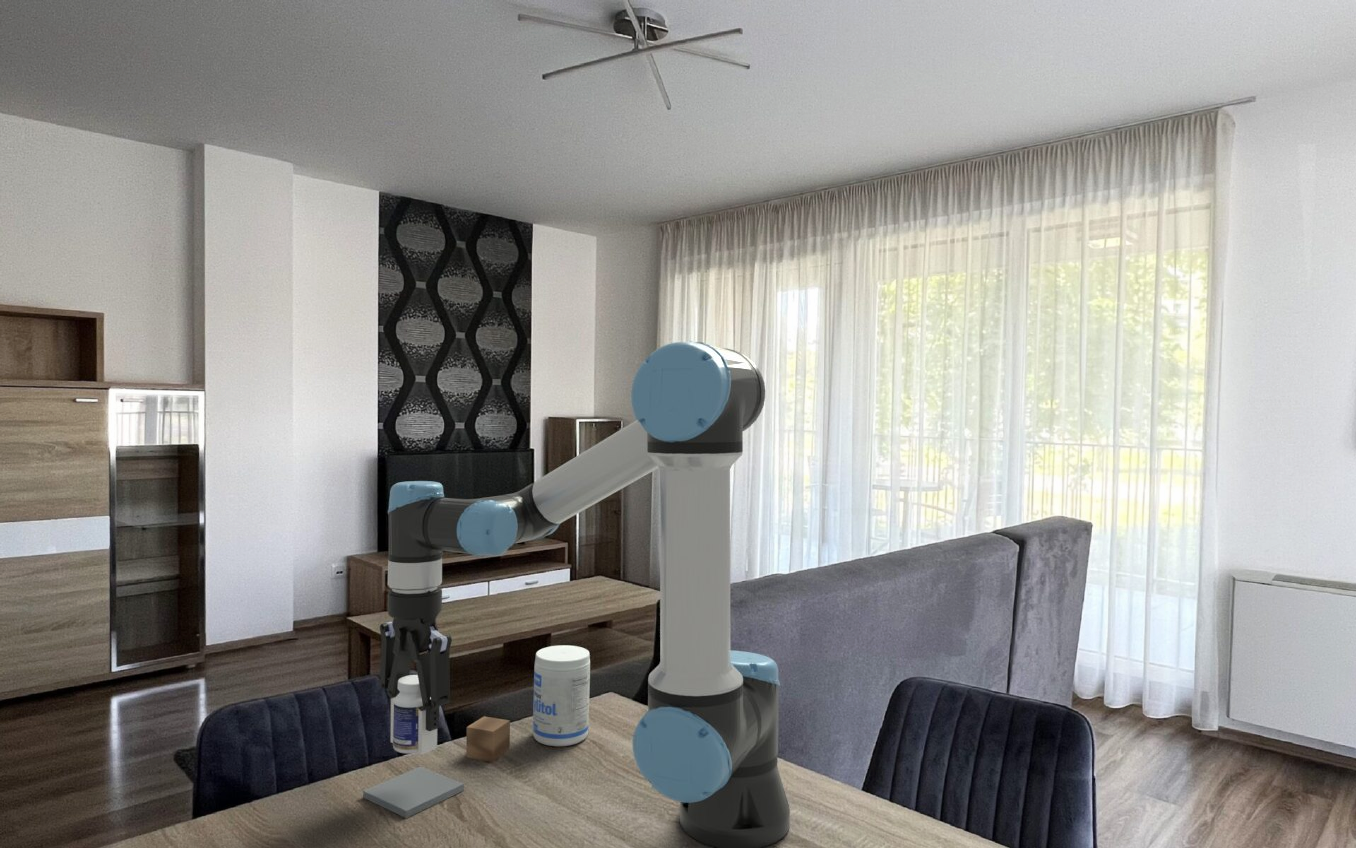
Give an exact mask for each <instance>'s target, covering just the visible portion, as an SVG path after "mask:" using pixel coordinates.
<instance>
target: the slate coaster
mask: <svg viewBox="0 0 1356 848" xmlns="http://www.w3.org/2000/svg"><path fill="white" fill-rule="evenodd" d="M464 785H465V784H464V783H463V782H460V781H458V780H455V779H453V778H451V777H448V776H445V775H443V774H441V773H438V772H436V771H434V770H432V769H429V768H427V767H424V766H421V765H420V766H417V767H416V768H413V769H411V770H409V771H407V772H404V773H402V774H399V775H397V776H395V777H392V778H390V779H388V780H386V781H383V782H381V783H378V784H376V785H373V786H371V787H369V788H367V789H364V790H362V798H363V799H365V800H368V801H369V802H372V803H374V804H376V805H378V806H380V807H381V808H384V809H386V810H388V811H390V812H392V813H394V814H397V815H398V816H401V817H403V818H405V819H408V818H409V817H411V816H413V815H416V814H418V813H420V812H422V811H424V810H426V809H428V808H430V807H432V806H434V805H437V804H440V803H441V802H442V801H445V800H447V799H449V798H451V797H453V796H455V795H457V794H459V793H462V792H464V790H465V786H464Z"/></svg>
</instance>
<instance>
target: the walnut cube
mask: <svg viewBox="0 0 1356 848" xmlns="http://www.w3.org/2000/svg"><path fill="white" fill-rule="evenodd" d="M510 747H511V720H508V719H504V718H503V719H502V718H496V717H489V716H486V715H484V716H482V717H481V718H479V719H478V720H476V721H474V722H473V723H471V724H469V725H468V726H467V727H466V751H465V752H466V758H468V759H473V760H479V761H485V762H491V763H494V762H496V761H497V760H498V759H500V758H501V757H503V755H505V754H507V753H508V752H509V751H510V750H511V749H510Z"/></svg>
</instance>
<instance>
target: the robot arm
mask: <svg viewBox="0 0 1356 848" xmlns="http://www.w3.org/2000/svg"><path fill="white" fill-rule="evenodd" d="M635 373H636V374H635V376H634V379H633V382H632V385H631V392H630V394H631V395H630V397H631V407H632V411H633V414H634V416H635V418H636V420H634V421H633V422H631V423H629V424H628V425H626V426H624V427H623V428H621V429H619V430H618V431H616V432H615V433H613V434H612V435H610V436H608V437H606V438H605V439H603V440H601V441H600V442H598V443H596V444H594V445H592V446H591V447H590V448H588V449H587V450H585V451H583V452H581V453H579V454H577V456H575V457H573V458H572V459H570V460H568V461H567V462H565V463H563V464H562V465H560V466H559V467H557V468H555V469H553V470H552V471H549V472H548V473H547V474H545V475H544V476H542V477H540V478H539V479H537V480H536V481H534V482H533V483H531V484H529V485H527V486H525V487H524V488H522V489H520V490H519V491H516V492H513V493H507V494H500V495H496V496H489V497H481V498H472V499H471V498H470V499H469V498H467V499H466V498H451V497H450V498H449V497H445V494H444V486H443V485H442V483H440V482H439V481H438V482H437V481H430V480H429V481H428V480H414V481H413V480H412V481H411V480H410V481H401V482H397V483H395V484H393V485H392V486H391V488H390V490H389V498H388V499H389V501H388V509H387V514H388V560H387V562H388V563H387V586H388V588H389V589H390V590H389V591H388V592H387V615H388V616H389V617H390V618H392V619H393V620H392V621H389V622H384V623H380V625H379V632H380V638H381V645H380V646H381V648H380V651H381V652H380V669H379V670H380V671H379V672H380V673H379V688H380V690H382V691H384V690H386V693H387V694H386V695H387V696H388V697H389V716H390V743H392V744H393V720H394V699H395V697H396V696H397V695H398V694H399V693H400V691H399V690H398V680H399V679H400V678H402V677H405V676H409V675H410V672H411V668H412V662H414V663H415V668H416V675H418V680H419V686H420V692H421V698H422V704H423V706H420V707H419V722H418V753H417V754H418V755H421V756H423V755H425V754H427V753H429V752H431V751H434V750H436V749H438V729H439V726H440V707H441V706H443V705H446V704H449V703H451V674H450V672H451V671H450V669H451V668H450V666H451V665H450V649H451V645H452V640H453V639H452V636H451V635H450V634H445V635H444V634H442V633H440V632H439V627H438V624H437V617H438V615H440V614H441V612H442V611H443V589H442V588H441V587H440V586H441V584H443V583H442V582H443V551H445V552H454V553H460V554H466V555H467V554H468V555H473V556H474V555H475V556H477V557H485V556H491V557H492V556H493V557H496V556H501V555H503V554H505V553H506V552H507V551H508V550H509V548H511V547H512V546H513V545H514V544H518V543H523V542H528V541H536V540H541V539H542V538H544V537H547V536H549V535H552V534H553V533H554V532H555V531H556V530H558V528H559V527H560V524H562V523H564V522H565V521H568V519H571V518H572V517H574V516H576V515H577V514H579V513H581V512H583V511H585V510H587V509H588V508H590V507H592V506H594V505H595V504H597V503H599V502H601V501H602V500H604V499H606V498H607V497H609V496H611V495H613V494H614V493H616V492H619V491H620V490H622V489H624V488H626V487H627V486H629V485H630V484H632V483H635V482H637V481H638V480H640V479H641V478H643V477H645V476H646V475H648V474H651V473H652V472H654V471H656V470H657V469H659V538H660V539H659V541H660V542H659V546H660V547H659V550H660V551H659V556H660V557H659V565H660V566H659V567H660V568H659V570H660V571H659V572H660V573H659V575H660V576H659V577H660V581H659V584H660V585H659V586H660V587H659V588H660V596H659V597H660V598H659V602H660V603H659V608H660V609H659V610H660V613H659V616H660V617H659V618H660V620H659V621H660V622H659V623H660V625H659V626H660V627H659V628H660V629H659V631H660V632H659V633H660V635H659V637H660V642H659V643H660V645H659V646H660V650H659V651H660V653H659V654H660V657H659V658H660V661H659V664H658V665H657V666H656V667H655V668H654V669H652V671H651V672H650V673H649V674H648V679H647V694H648V695H647V707H648V708H647V712H646V713H644V715H642V717H641V718H640V719H639V721H638V723H637V725H636V727H635V729H634V732H633V735H632V737H633V738H632V753H633V758H634V760H635V764H636V766H637V768H638V771H639V772H640V774H641V775H642V777H643V778H644V779H645V780H647V782H649V784H651V787H652V788H653V789H654V790H655V791H656V792H658V793H659V794H660V795H662V796H663V797H665V798H667V799H669V800H673V801H675V802H678V803H679V802H680V803H679V824H680V826H681V828H682V829H683V830H684V832H685V833H686V834H687V835H688V836H690V837H691V838H693V839H694V840H696V841H698V842H700V843H702V844H705V845H708V846H711V847H716V848H764V847H767V846H770V845H773V844H775V843H777V842H779V841H780V840H781V839H782V838H784V837H785V836H786V835H787V833H788V832H789V829H790V825H791V824H790V823H791V821H790V820H791V819H790V817H791V816H790V815H791V810H790V804H789V801H788V797H787V795H786V791H785V787H784V784H783V781H782V778H781V775H780V771H779V768H778V757H779V756H778V754H779V753H778V752H779V751H778V750H779V749H778V748H779V745H778V743H779V742H778V741H779V695H780V694H779V687H780V686H781V683H780V681H779V668H778V664H777V663H776V661H775V660H774V659H772V658H771V657H769V656H766V655H763V654H759V653H757V652H756V653H755V652H749V651H741V650H731V468H732V466H733V465H734V464H735V463H736V462H737V461H738V460H739V458H741V457H742V455H743V451H744V450H743V448H744V447H743V445H744V442H743V440H744V439H743V438H744V437H743V436H744V433H743V432H745V431H746V430H748V429H749V428H750V427H751V426H752V425H753V424H754V423H755V422H756V421H757V420H758V418H759V417H760V415H761V413H762V411H763V408H764V406H765V401H766V385H765V383H766V382H765V381H764V378H763V375H762V373H761V371H760V369H759V367H758V366H757V365H756V363H755V362H754V361H752V359H750V358H749V357H748V356H747V355H745V354H743V353H742V352H740V351H737V350H734V349H730V348H724V347H718V346H714V345H711V344H709V343H708V344H707V343H706V342H702V341H691V340H689V341H677V342H670V343H668V344H665V345H662V346H660V347H659V348H657V349H655V350H654V351H652V352H651V353H650V355H648V356H647V357H646V359H645V360H643V362H642V363H641V364H640V366H639V368H638V369H637V371H636V372H635ZM430 697H431V699H430Z"/></svg>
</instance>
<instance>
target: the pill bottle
mask: <svg viewBox="0 0 1356 848" xmlns="http://www.w3.org/2000/svg"><path fill="white" fill-rule="evenodd" d="M398 690H399V691H400V693H399V694H398V695H397V696H396V697H395V699H394V720H393V743H392V746H393V747H392V748H393V750H394V751H395V752H397V753H401V754H418V722H419V707H420V706H423V704H422V698H421V692H420V686H419V680H418V674H409V676H405V677H402V678H400V679H399V680H398ZM430 699H431V697H430Z"/></svg>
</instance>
